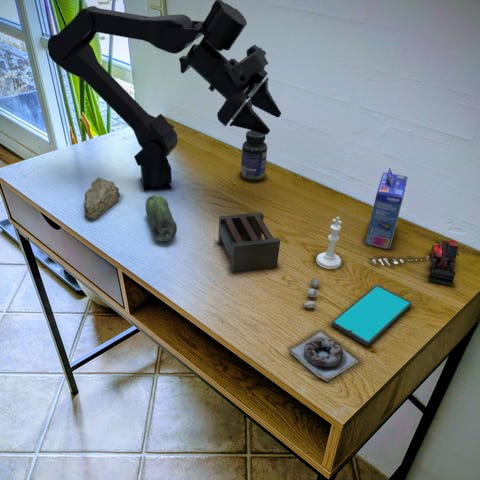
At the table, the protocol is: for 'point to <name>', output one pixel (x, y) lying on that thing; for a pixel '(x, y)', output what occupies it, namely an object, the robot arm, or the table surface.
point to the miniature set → (393, 260)
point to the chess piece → (331, 249)
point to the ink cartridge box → (386, 210)
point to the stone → (100, 197)
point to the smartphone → (371, 315)
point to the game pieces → (312, 293)
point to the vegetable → (160, 218)
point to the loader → (443, 262)
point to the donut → (323, 356)
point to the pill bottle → (254, 156)
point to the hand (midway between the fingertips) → (274, 124)
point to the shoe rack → (248, 242)
